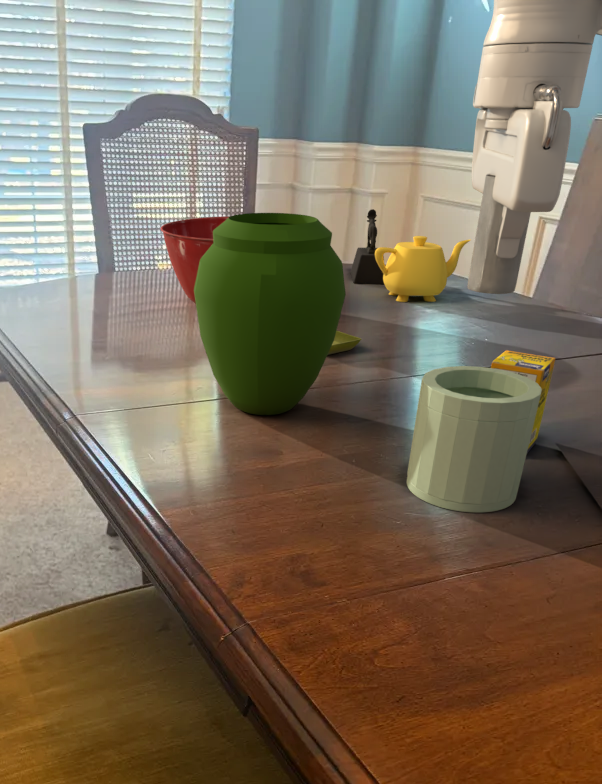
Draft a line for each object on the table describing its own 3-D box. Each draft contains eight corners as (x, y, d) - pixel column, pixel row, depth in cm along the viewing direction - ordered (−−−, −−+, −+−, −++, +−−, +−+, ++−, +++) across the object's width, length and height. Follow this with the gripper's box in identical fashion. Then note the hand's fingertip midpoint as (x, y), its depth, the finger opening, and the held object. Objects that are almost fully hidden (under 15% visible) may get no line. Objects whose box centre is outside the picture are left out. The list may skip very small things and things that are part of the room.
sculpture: (382, 273, 189) (390, 207, 182) (385, 284, 178) (394, 214, 170) (350, 272, 190) (356, 206, 183) (351, 283, 179) (358, 213, 171)
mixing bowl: (249, 331, 142) (253, 242, 134) (133, 308, 157) (130, 226, 149) (324, 303, 161) (331, 224, 154) (214, 285, 176) (216, 212, 168)
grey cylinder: (516, 287, 77) (539, 174, 72) (512, 296, 73) (536, 177, 68) (470, 283, 79) (489, 172, 74) (463, 291, 75) (483, 175, 70)
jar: (503, 469, 89) (526, 368, 83) (527, 516, 79) (555, 405, 73) (401, 463, 90) (416, 363, 85) (412, 509, 81) (430, 399, 75)
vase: (362, 407, 107) (384, 219, 95) (270, 444, 95) (282, 235, 83) (257, 375, 119) (265, 205, 107) (164, 405, 107) (161, 217, 95)
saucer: (323, 359, 127) (324, 346, 126) (289, 346, 133) (290, 334, 132) (361, 351, 131) (363, 338, 130) (327, 339, 137) (328, 327, 136)
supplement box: (536, 443, 96) (557, 356, 91) (524, 459, 92) (545, 369, 86) (488, 432, 99) (505, 348, 94) (474, 447, 95) (491, 360, 89)
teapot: (471, 304, 161) (482, 241, 155) (377, 304, 161) (384, 241, 154) (450, 290, 173) (460, 231, 167) (362, 290, 172) (369, 231, 166)
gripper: (605, 83, 58) (562, 273, 65) (538, 87, 76) (509, 236, 83) (519, 83, 59) (485, 271, 66) (472, 87, 76) (449, 234, 83)
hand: (498, 251), depth 74 cm, fingers closed on grey cylinder, 4 cm apart
